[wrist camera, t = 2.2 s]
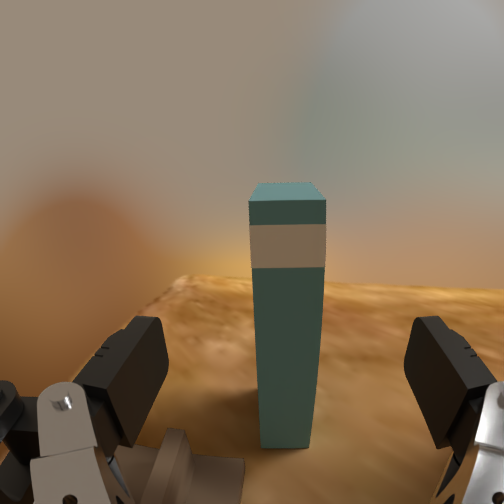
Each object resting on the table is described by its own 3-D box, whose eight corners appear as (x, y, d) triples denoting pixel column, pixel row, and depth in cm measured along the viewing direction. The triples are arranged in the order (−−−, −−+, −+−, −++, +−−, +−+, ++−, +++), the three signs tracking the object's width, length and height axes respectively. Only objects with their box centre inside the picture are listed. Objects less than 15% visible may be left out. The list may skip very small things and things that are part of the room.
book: (309, 447, 22) (326, 199, 16) (260, 448, 23) (248, 201, 16) (305, 386, 30) (311, 182, 23) (265, 387, 30) (258, 183, 24)
